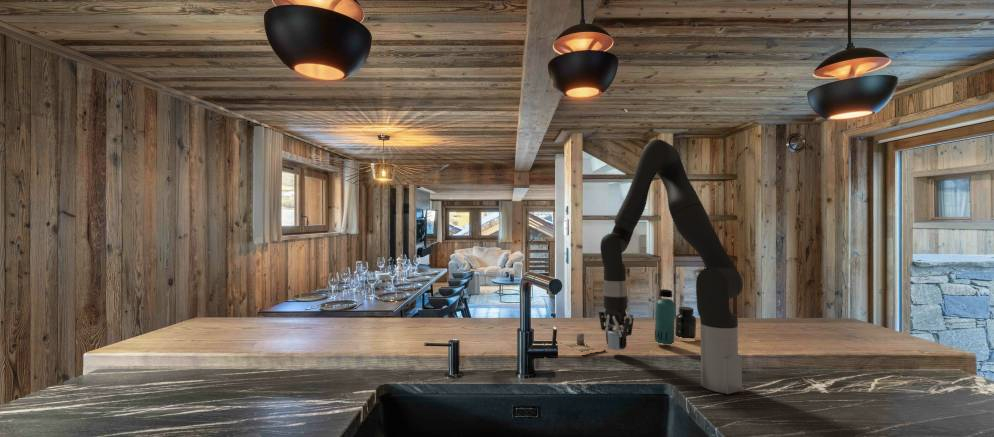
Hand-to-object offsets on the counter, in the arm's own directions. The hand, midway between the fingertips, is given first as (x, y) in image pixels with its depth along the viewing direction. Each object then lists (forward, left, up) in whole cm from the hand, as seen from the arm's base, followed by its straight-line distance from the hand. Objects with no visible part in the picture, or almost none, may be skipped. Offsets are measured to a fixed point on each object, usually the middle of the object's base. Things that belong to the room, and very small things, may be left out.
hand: (616, 345), depth 145 cm
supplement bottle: (+1, -34, -3) cm, 35 cm away
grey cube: (0, 0, -1) cm, 1 cm away
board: (+10, +6, -3) cm, 12 cm away
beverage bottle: (0, -21, -3) cm, 22 cm away
